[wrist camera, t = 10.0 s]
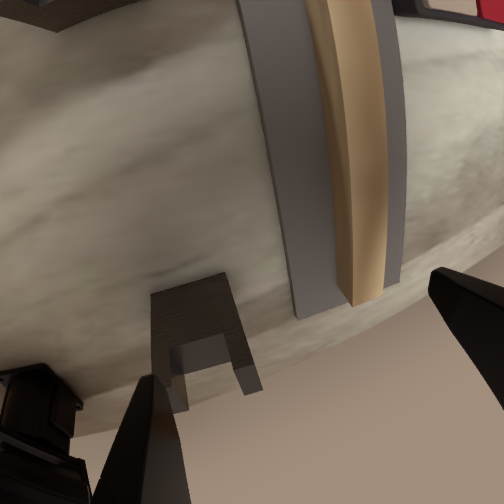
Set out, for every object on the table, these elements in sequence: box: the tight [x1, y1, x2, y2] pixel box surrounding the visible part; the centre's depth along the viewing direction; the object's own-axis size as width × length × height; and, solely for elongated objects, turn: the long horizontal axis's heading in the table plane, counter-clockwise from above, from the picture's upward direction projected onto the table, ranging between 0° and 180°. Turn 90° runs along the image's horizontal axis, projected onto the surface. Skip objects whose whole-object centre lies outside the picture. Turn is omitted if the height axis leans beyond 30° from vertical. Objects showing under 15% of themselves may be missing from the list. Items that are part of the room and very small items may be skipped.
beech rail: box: [304, 0, 388, 307], centre depth 15 cm, size 2×24×2 cm, turn 11°
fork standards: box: [0, 0, 263, 414], centre depth 12 cm, size 5×21×8 cm, turn 12°
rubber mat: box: [236, 0, 407, 320], centre depth 16 cm, size 9×28×1 cm, turn 12°
